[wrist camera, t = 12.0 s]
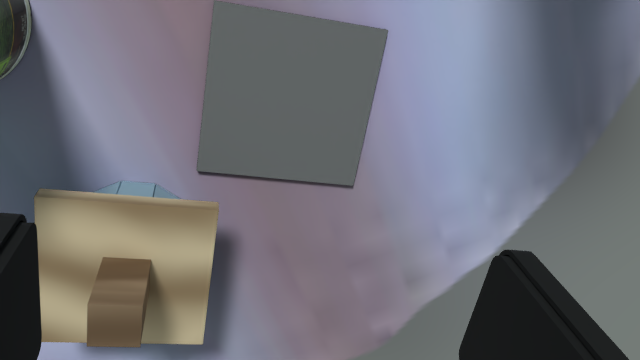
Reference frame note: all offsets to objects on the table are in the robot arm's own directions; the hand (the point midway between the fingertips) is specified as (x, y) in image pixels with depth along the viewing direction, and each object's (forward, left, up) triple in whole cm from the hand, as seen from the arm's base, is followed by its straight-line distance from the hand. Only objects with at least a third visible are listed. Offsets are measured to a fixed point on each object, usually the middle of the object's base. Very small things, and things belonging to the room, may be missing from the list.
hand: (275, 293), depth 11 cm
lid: (+15, -5, -24) cm, 29 cm away
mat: (+3, +5, -29) cm, 29 cm away
